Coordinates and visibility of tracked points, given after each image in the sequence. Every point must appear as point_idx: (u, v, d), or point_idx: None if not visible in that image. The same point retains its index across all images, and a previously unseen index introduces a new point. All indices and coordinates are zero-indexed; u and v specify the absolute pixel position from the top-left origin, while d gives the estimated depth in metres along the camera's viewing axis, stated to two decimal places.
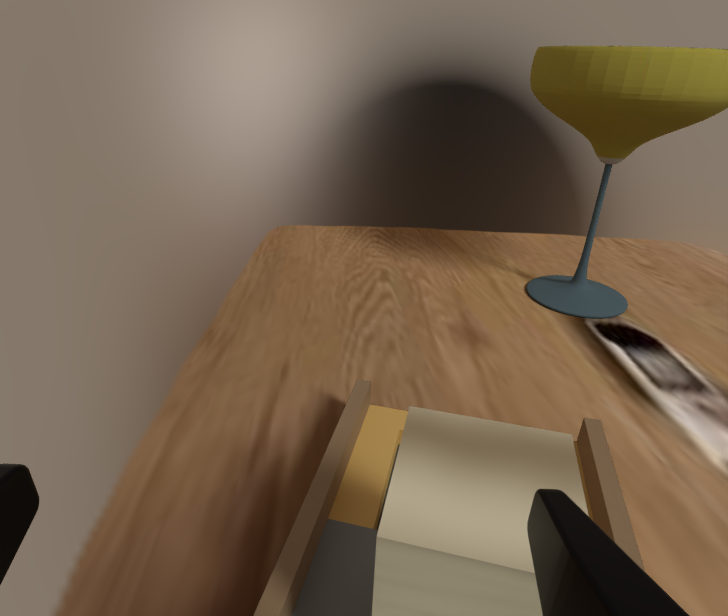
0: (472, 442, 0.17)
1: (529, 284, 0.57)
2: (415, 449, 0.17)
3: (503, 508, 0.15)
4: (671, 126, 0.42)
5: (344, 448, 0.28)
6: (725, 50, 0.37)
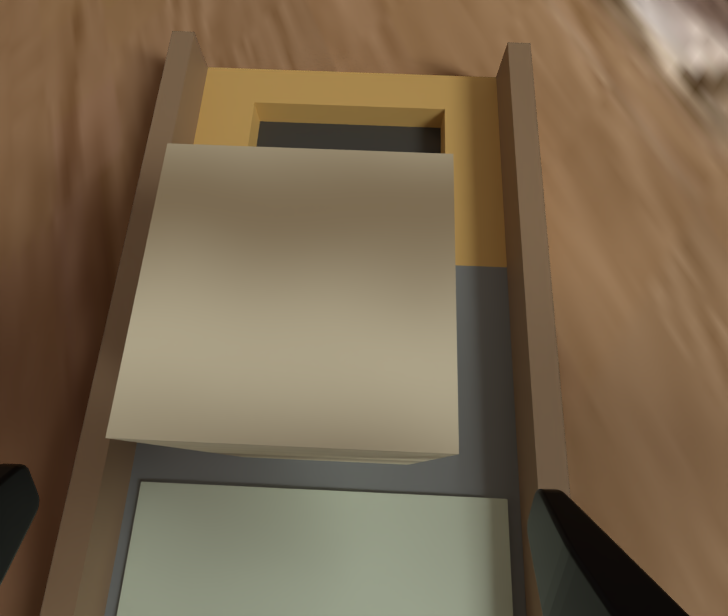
0: (277, 206, 0.10)
1: None
2: (174, 243, 0.09)
3: (319, 335, 0.09)
4: None
5: None
6: None
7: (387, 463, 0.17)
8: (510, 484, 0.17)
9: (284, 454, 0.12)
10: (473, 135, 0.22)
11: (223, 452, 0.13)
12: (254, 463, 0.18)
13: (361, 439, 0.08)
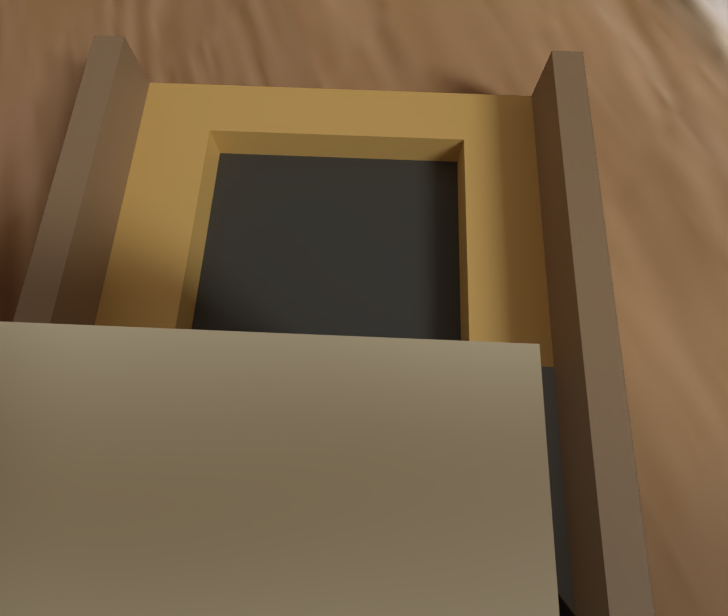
0: (122, 492, 0.04)
1: None
2: None
3: None
4: None
5: (77, 218, 0.14)
6: None
7: None
8: None
9: None
10: (502, 176, 0.17)
11: None
12: None
13: None
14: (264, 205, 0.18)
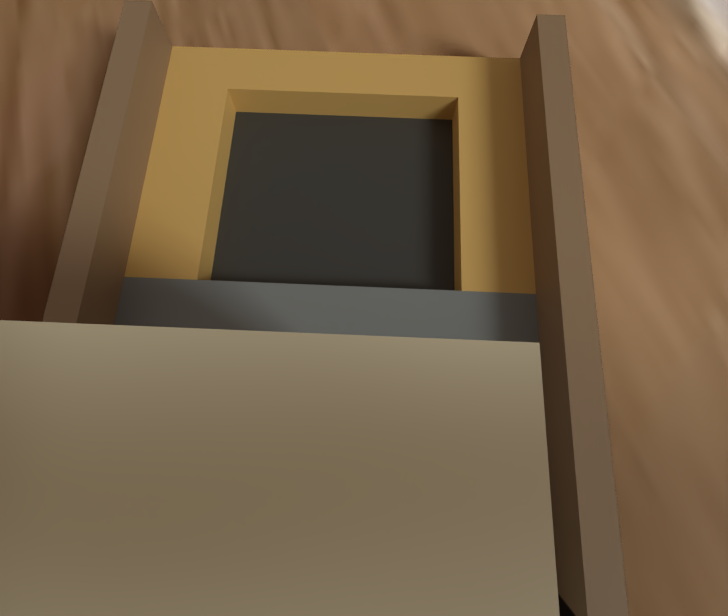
0: (122, 490, 0.04)
1: None
2: None
3: None
4: None
5: (114, 159, 0.16)
6: None
7: None
8: None
9: None
10: (492, 129, 0.18)
11: None
12: None
13: None
14: (277, 158, 0.19)
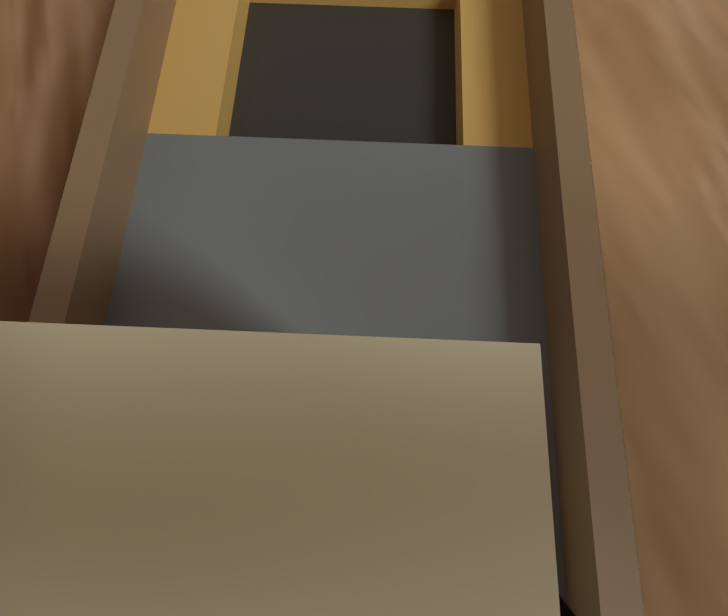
0: (121, 492, 0.04)
1: None
2: None
3: None
4: None
5: (140, 16, 0.17)
6: None
7: None
8: None
9: None
10: (492, 8, 0.19)
11: None
12: None
13: None
14: (289, 42, 0.21)
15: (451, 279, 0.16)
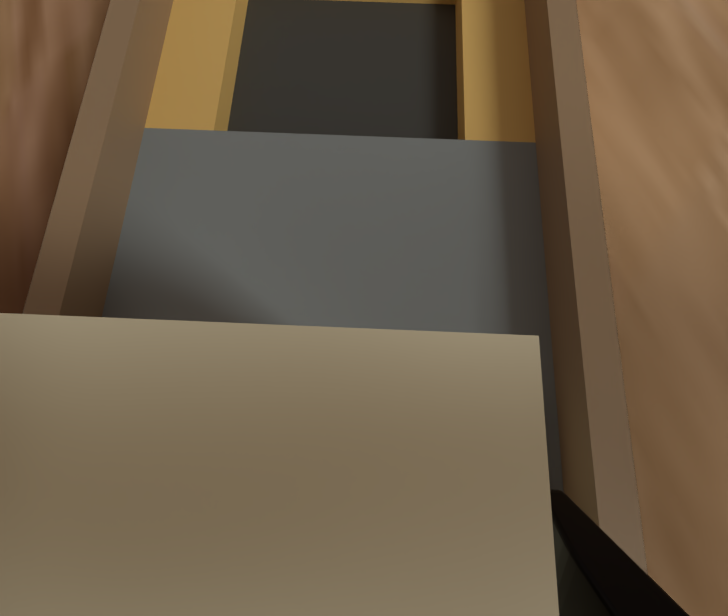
0: (121, 482, 0.04)
1: None
2: None
3: None
4: None
5: (137, 9, 0.17)
6: None
7: None
8: (543, 380, 0.15)
9: None
10: (494, 3, 0.19)
11: None
12: None
13: None
14: (288, 37, 0.20)
15: (453, 275, 0.16)
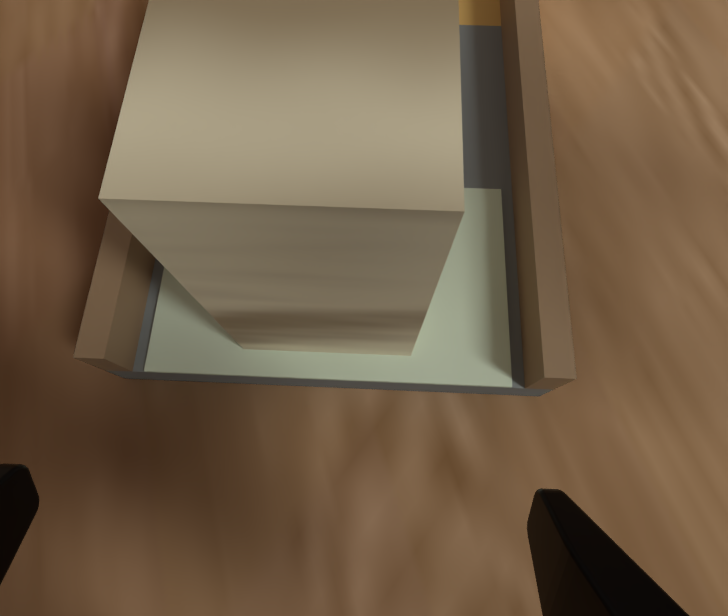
0: None
1: None
2: (171, 29, 0.09)
3: (319, 108, 0.09)
4: None
5: None
6: None
7: (389, 352, 0.17)
8: (503, 181, 0.20)
9: (284, 299, 0.12)
10: None
11: (222, 306, 0.13)
12: None
13: (362, 199, 0.08)
14: None
15: None
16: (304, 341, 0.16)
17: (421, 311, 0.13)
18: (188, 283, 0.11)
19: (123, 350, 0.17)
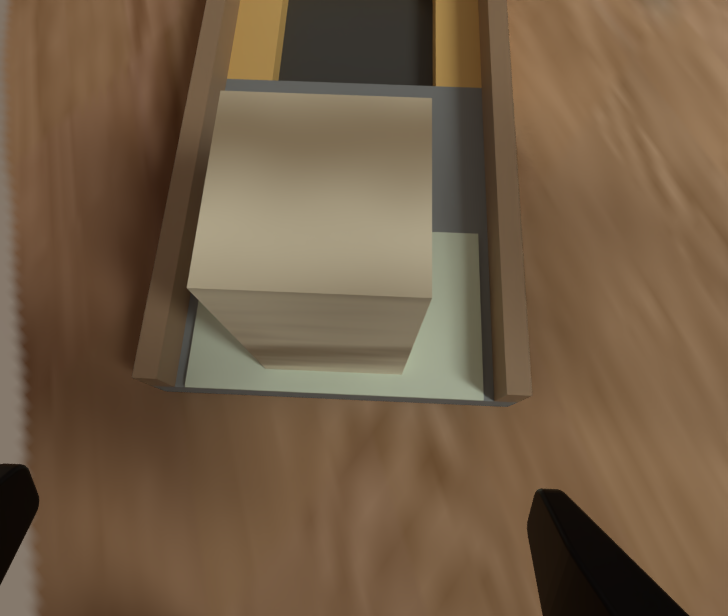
0: (303, 135, 0.13)
1: None
2: (229, 160, 0.13)
3: (334, 222, 0.12)
4: None
5: (224, 1, 0.26)
6: None
7: (384, 372, 0.21)
8: (480, 226, 0.24)
9: (304, 339, 0.16)
10: None
11: (255, 342, 0.17)
12: None
13: (364, 289, 0.12)
14: (317, 21, 0.30)
15: None
16: (316, 364, 0.20)
17: (408, 347, 0.17)
18: (233, 329, 0.15)
19: (169, 370, 0.21)
